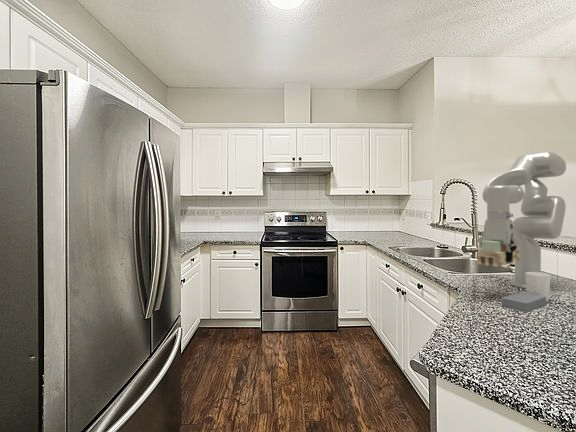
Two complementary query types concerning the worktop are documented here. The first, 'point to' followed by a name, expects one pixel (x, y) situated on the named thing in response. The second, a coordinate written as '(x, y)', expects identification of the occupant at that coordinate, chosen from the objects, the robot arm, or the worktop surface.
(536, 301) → the dock
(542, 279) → the white cup
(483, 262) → the long beige board
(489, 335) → the worktop surface
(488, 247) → the pale green block
